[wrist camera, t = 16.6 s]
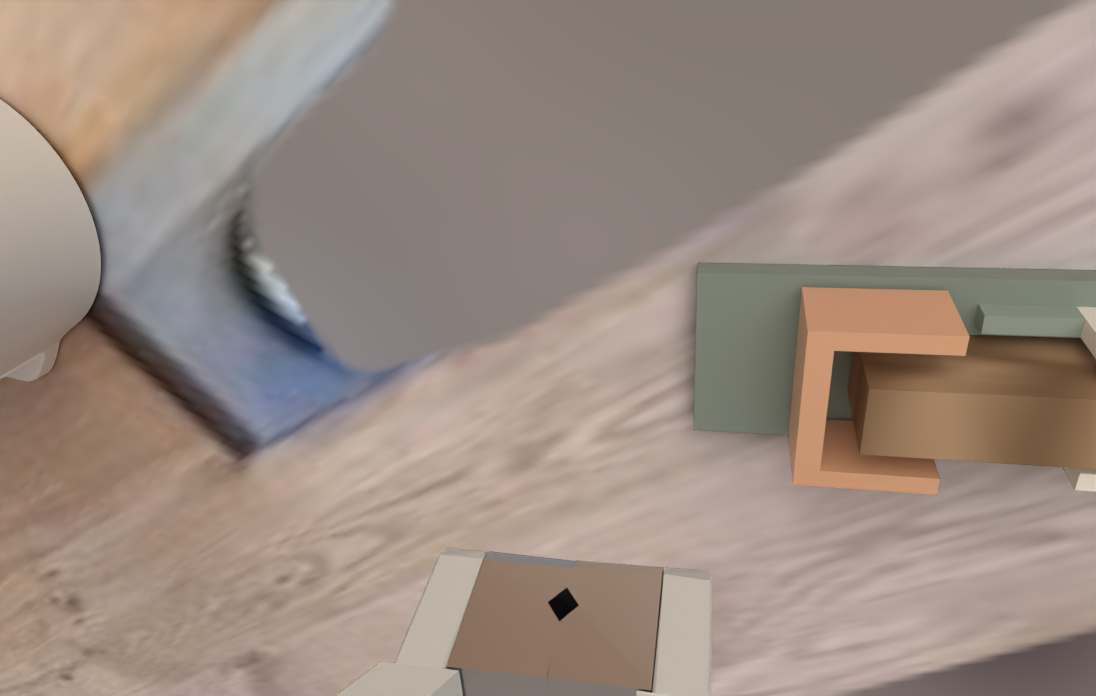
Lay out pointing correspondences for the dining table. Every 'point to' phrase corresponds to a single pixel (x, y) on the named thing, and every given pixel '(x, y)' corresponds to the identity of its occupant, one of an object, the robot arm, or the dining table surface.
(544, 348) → the dining table surface
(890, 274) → the grey slotted holder
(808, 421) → the cap
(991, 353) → the brown rectangular block
